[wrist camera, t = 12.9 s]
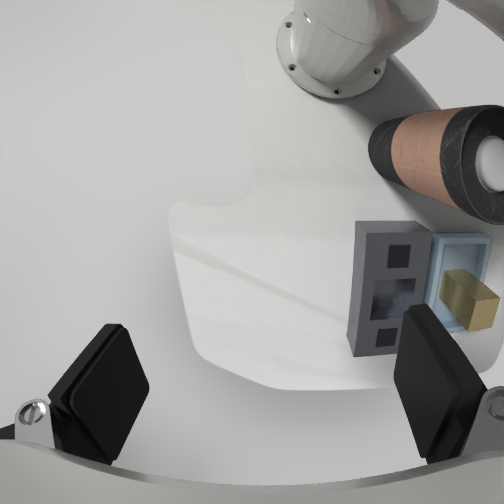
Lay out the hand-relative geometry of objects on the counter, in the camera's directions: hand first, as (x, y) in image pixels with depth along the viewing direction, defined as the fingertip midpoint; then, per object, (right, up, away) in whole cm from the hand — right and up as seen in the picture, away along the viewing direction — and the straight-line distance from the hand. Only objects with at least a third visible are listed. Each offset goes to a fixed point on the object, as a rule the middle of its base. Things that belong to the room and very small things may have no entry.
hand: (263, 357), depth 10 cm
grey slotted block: (+16, 0, +28) cm, 32 cm away
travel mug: (+16, +15, +22) cm, 32 cm away
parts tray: (+27, -1, +27) cm, 38 cm away
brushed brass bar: (+27, -1, +26) cm, 38 cm away
